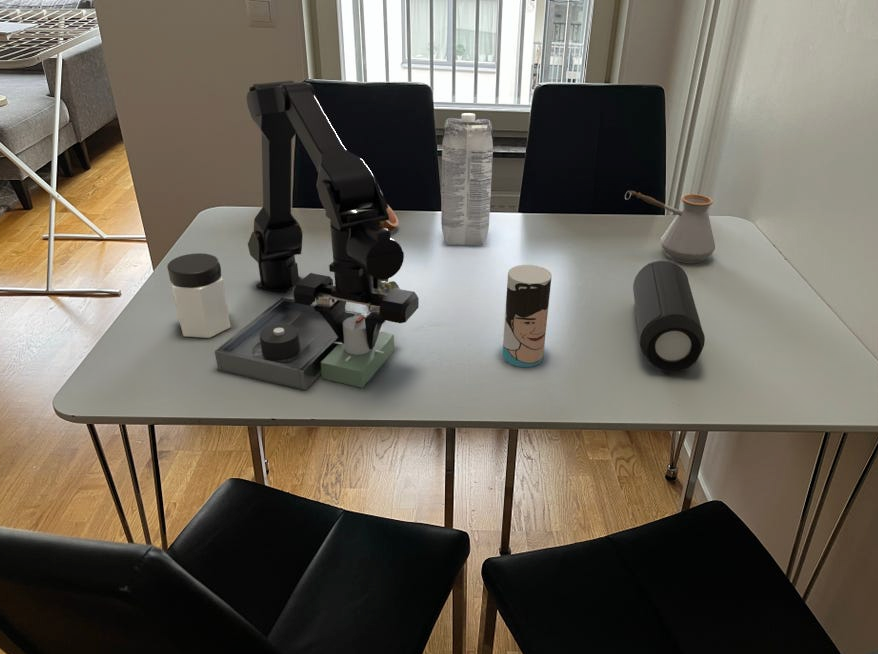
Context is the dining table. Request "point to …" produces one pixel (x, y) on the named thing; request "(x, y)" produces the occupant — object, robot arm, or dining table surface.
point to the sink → (311, 336)
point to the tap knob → (355, 335)
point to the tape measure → (386, 287)
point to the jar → (199, 295)
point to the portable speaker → (667, 317)
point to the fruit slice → (390, 220)
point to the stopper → (280, 341)
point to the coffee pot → (686, 228)
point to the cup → (526, 315)
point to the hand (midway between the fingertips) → (358, 345)
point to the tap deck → (356, 362)
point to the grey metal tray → (270, 369)
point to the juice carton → (466, 180)
